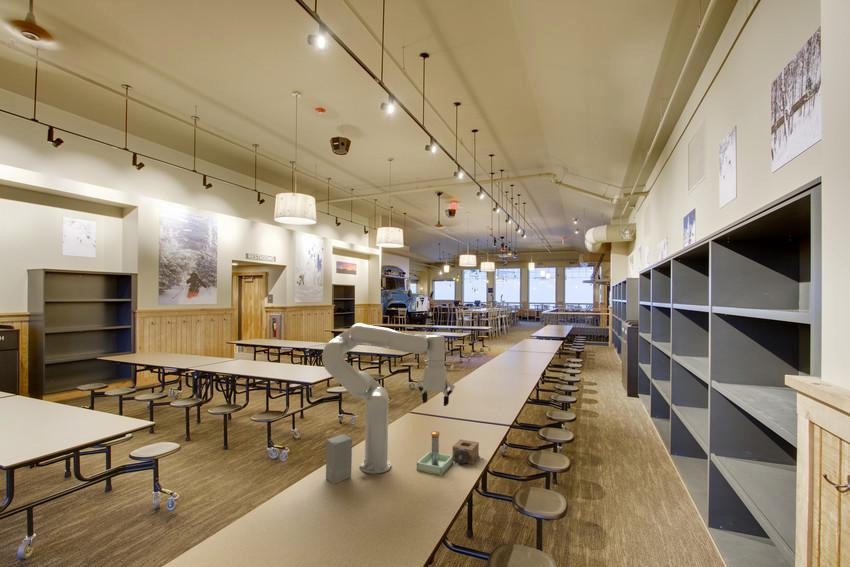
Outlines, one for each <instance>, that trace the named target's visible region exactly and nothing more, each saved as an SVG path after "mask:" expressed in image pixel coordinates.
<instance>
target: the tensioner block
mask: <svg viewBox="0 0 850 567" xmlns="http://www.w3.org/2000/svg"><path fill="white" fill-rule="evenodd" d="M479 444H480V443H479V442H478V441H473V440H467V439H459V440H458V441H457V442H455V443H454V445H452V456H453V462H456V463H458V464H459V465H465V464H468V465H473V464H474V462H475V461H476V460H477V459H478V457H479V455H480V454H479V449H480V446H479Z"/></svg>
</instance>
